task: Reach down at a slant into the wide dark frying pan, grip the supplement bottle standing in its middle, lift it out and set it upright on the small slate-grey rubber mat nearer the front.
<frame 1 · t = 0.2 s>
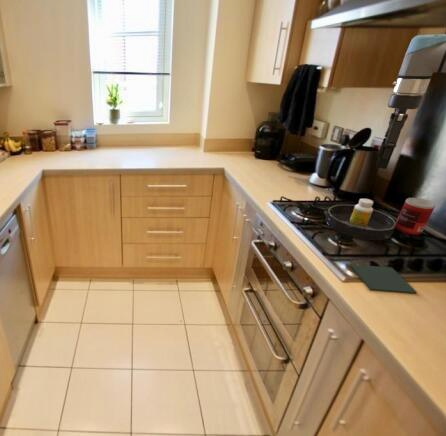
hand: (381, 162, 104), 24 cm above the worktop, tool pointing down, fingers open, 13 cm apart
mat: (381, 279, 89), on the worktop
pan: (356, 226, 115), on the worktop
supplement bottle: (357, 225, 115), resting on pan
red supplement tub: (407, 230, 112), on the worktop
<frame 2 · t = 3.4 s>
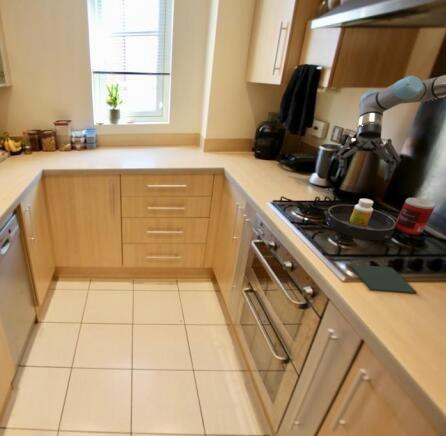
hand: (364, 177, 117), 15 cm above the worktop, tool tilted 45°, fingers open, 13 cm apart
nothing on the worktop moved.
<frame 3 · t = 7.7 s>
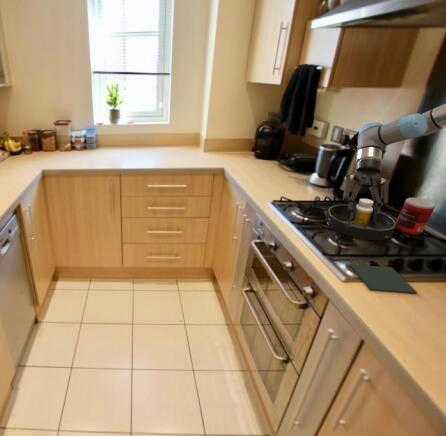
hand: (362, 221, 111), 4 cm above the worktop, tool tilted 45°, fingers closed on supplement bottle, 5 cm apart
supplement bottle: (357, 225, 115), resting on pan, touching gripper
everything else where it was.
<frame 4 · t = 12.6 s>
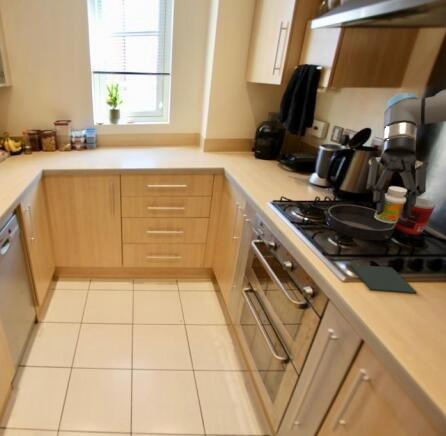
hand: (393, 214, 88), 16 cm above the worktop, tool tilted 45°, fingers closed on supplement bottle, 5 cm apart
supplement bottle: (384, 219, 93), point 13 cm above the worktop, touching gripper
everything else where it was.
when the fingers open (4 cm above the worktop, at t = 17.8 s): supplement bottle stays where it is, resting on mat.
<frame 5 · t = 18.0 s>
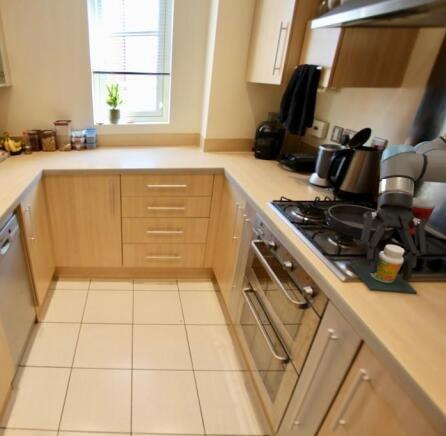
hand: (389, 275, 84), 4 cm above the worktop, tool tilted 45°, fingers open, 7 cm apart
supplement bottle: (381, 277, 89), resting on mat
everything else where it was.
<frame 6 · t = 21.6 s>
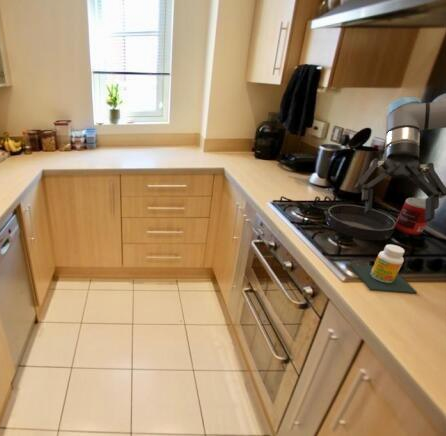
hand: (397, 215, 86), 17 cm above the worktop, tool tilted 45°, fingers open, 13 cm apart
nothing on the worktop moved.
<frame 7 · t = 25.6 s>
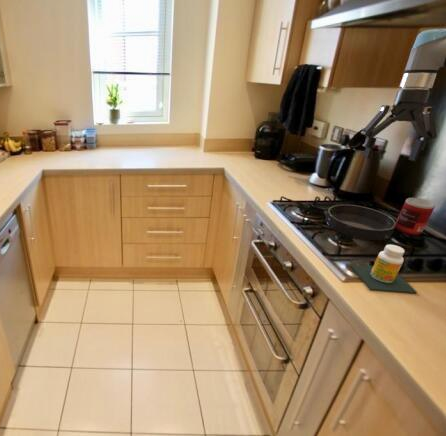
hand: (389, 159, 103), 25 cm above the worktop, tool pointing down, fingers open, 13 cm apart
nothing on the worktop moved.
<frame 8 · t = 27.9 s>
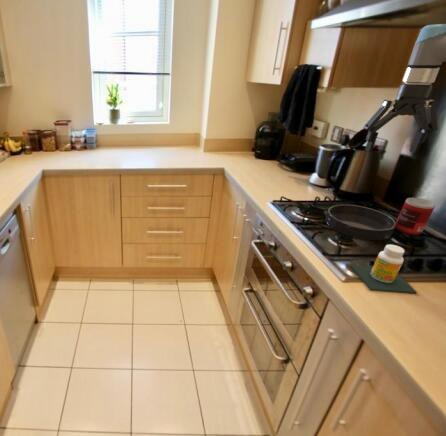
hand: (390, 151, 106), 27 cm above the worktop, tool pointing down, fingers open, 13 cm apart
nothing on the worktop moved.
at the end: supplement bottle inside the target area on the mat (0.1 cm from its centre), point 0.4 cm above the mat's base; supplement bottle tilted 0°; the gripper is holding nothing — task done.
